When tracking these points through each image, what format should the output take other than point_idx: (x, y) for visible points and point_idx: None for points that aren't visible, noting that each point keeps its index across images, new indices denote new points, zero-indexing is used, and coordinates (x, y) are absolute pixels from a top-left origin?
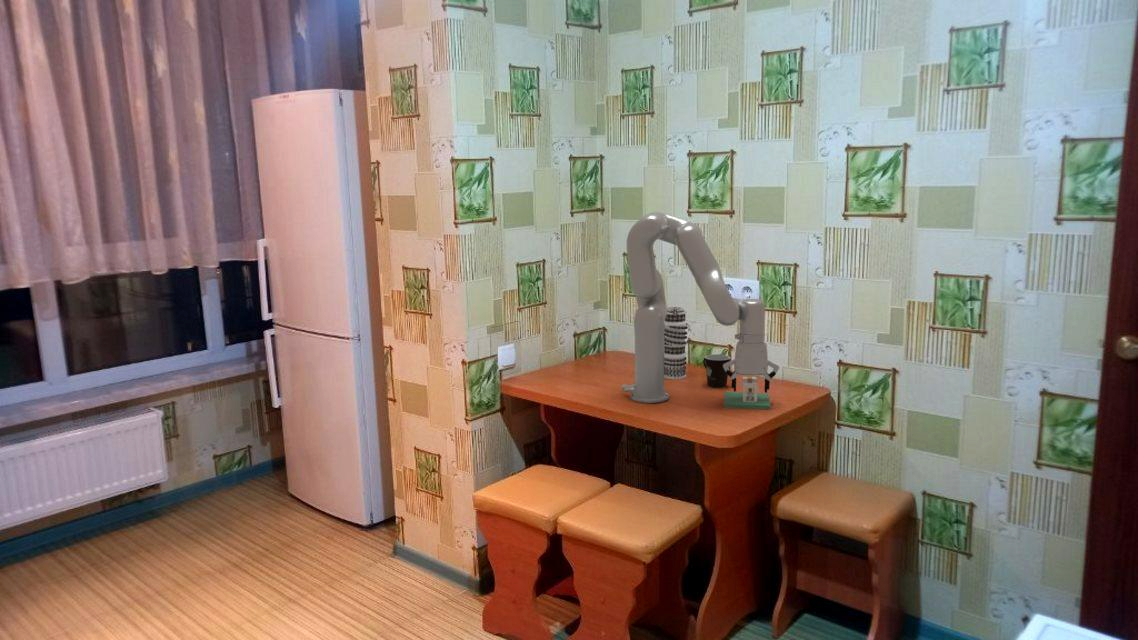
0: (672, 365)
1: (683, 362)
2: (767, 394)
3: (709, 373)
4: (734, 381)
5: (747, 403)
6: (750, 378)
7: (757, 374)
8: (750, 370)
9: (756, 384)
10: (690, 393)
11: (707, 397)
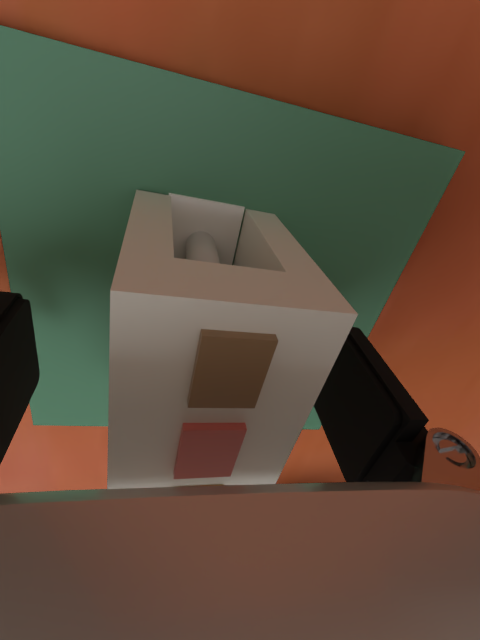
0: None
1: None
2: (39, 402)
3: None
4: (407, 400)
5: (244, 154)
6: None
7: (66, 502)
8: (280, 621)
9: (127, 283)
10: (462, 420)
11: (420, 372)
